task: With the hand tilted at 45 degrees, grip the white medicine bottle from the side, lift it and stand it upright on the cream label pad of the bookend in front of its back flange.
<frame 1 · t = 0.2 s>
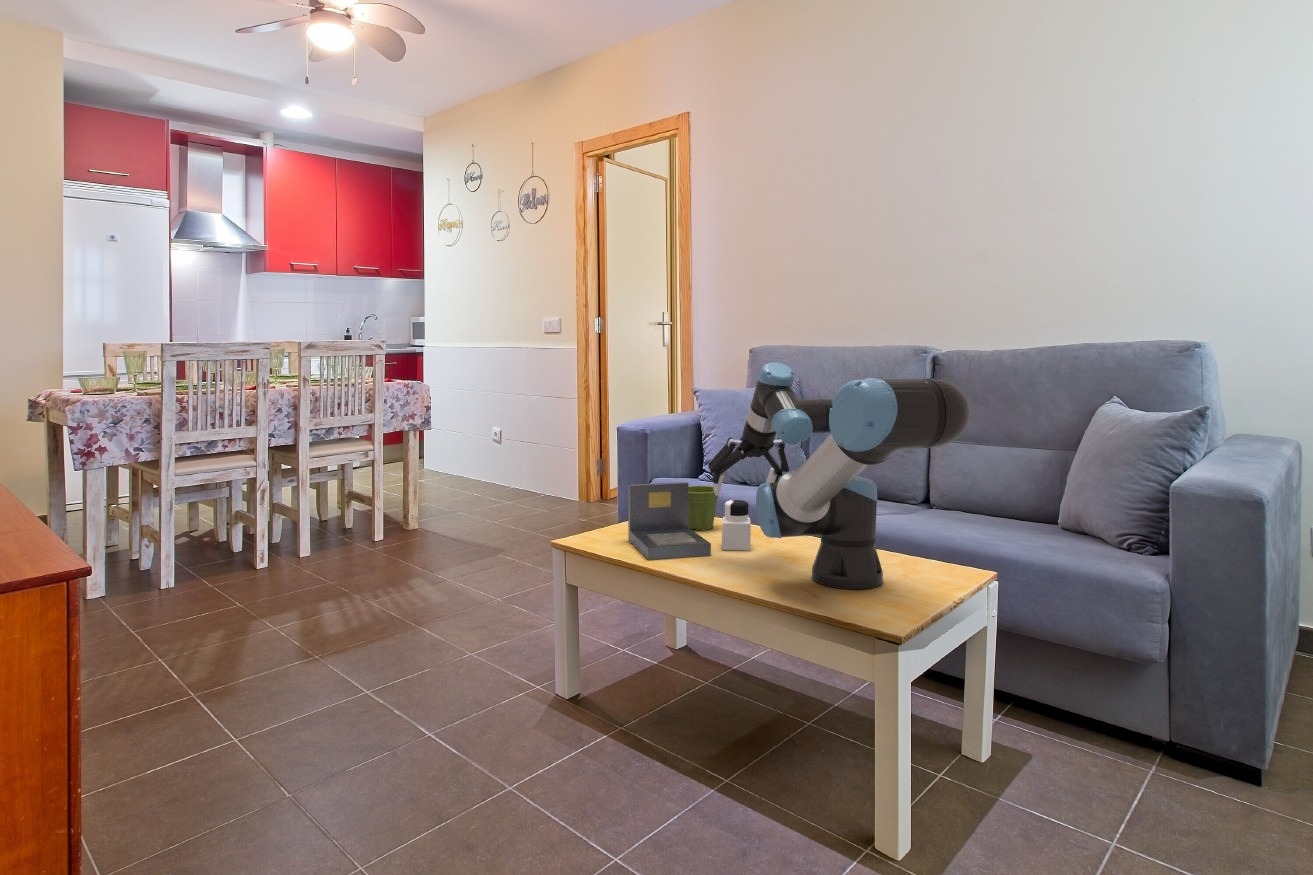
hand: (741, 491, 191), 15 cm above the table, tool tilted 35°, fingers open, 13 cm apart
medicine bottle: (736, 547, 197), on the table
bookend: (668, 547, 196), on the table
plant pot: (699, 528, 218), on the table
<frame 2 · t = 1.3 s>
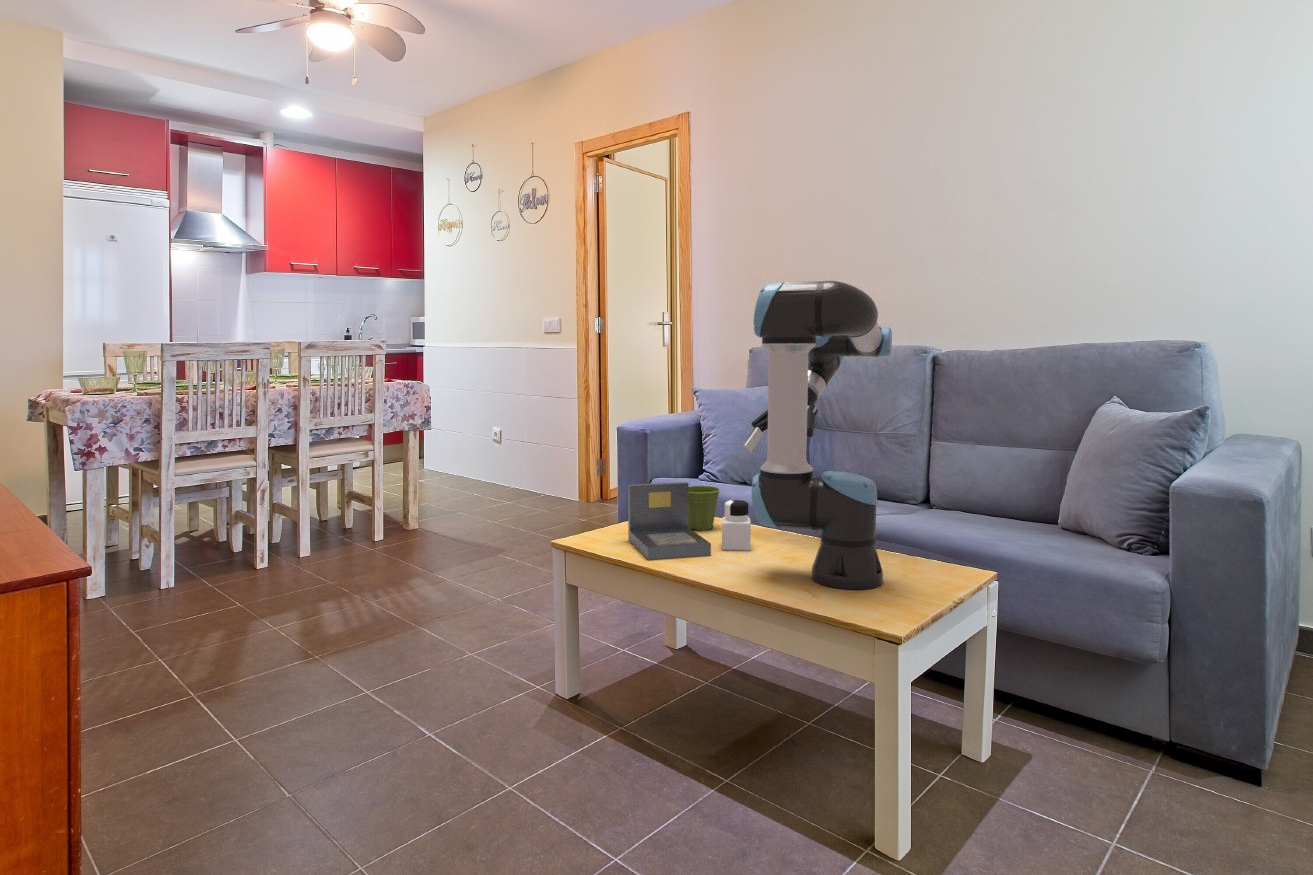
hand: (765, 451, 200), 24 cm above the table, tool tilted 45°, fingers open, 13 cm apart
nothing on the table moved.
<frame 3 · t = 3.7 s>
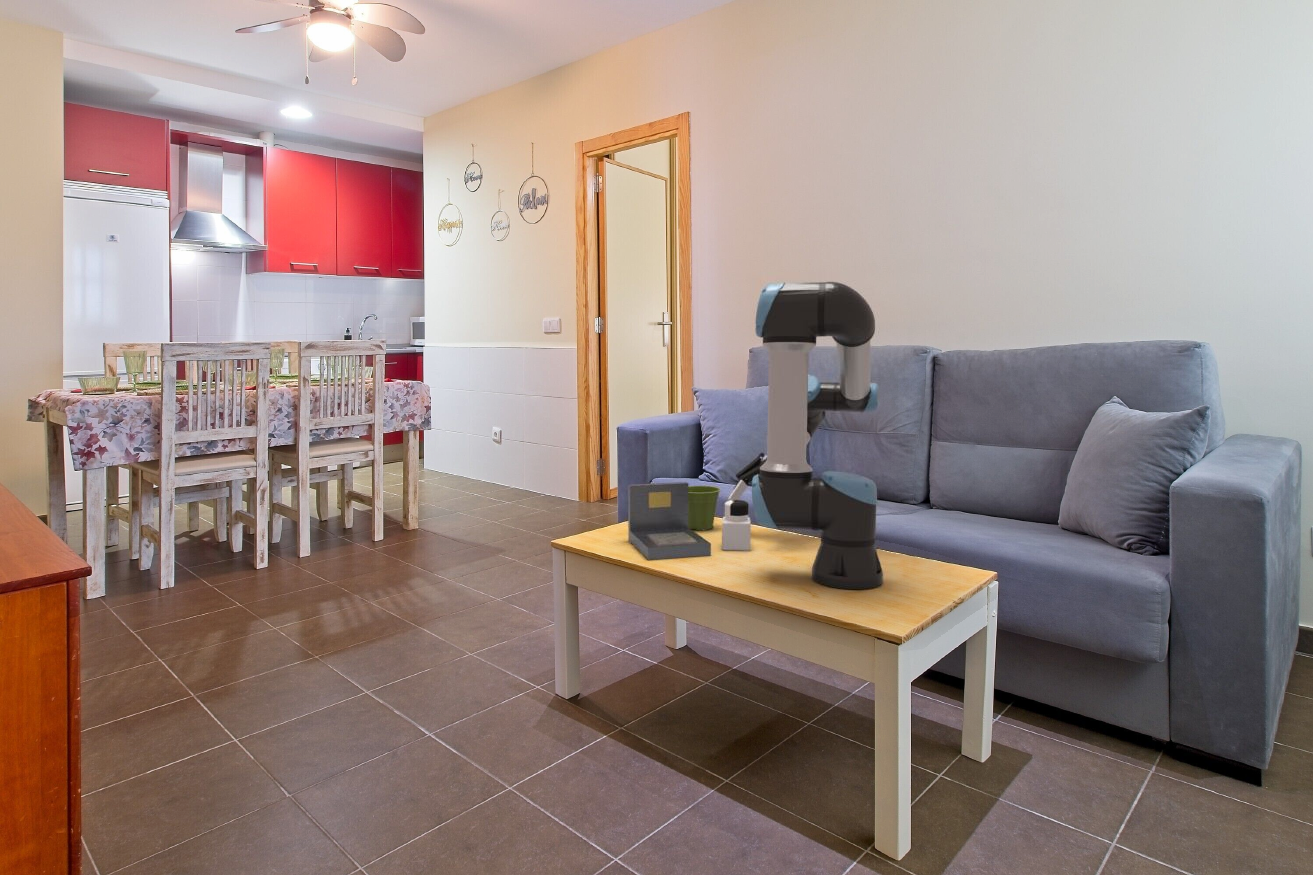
hand: (749, 506, 200), 10 cm above the table, tool tilted 45°, fingers open, 13 cm apart
nothing on the table moved.
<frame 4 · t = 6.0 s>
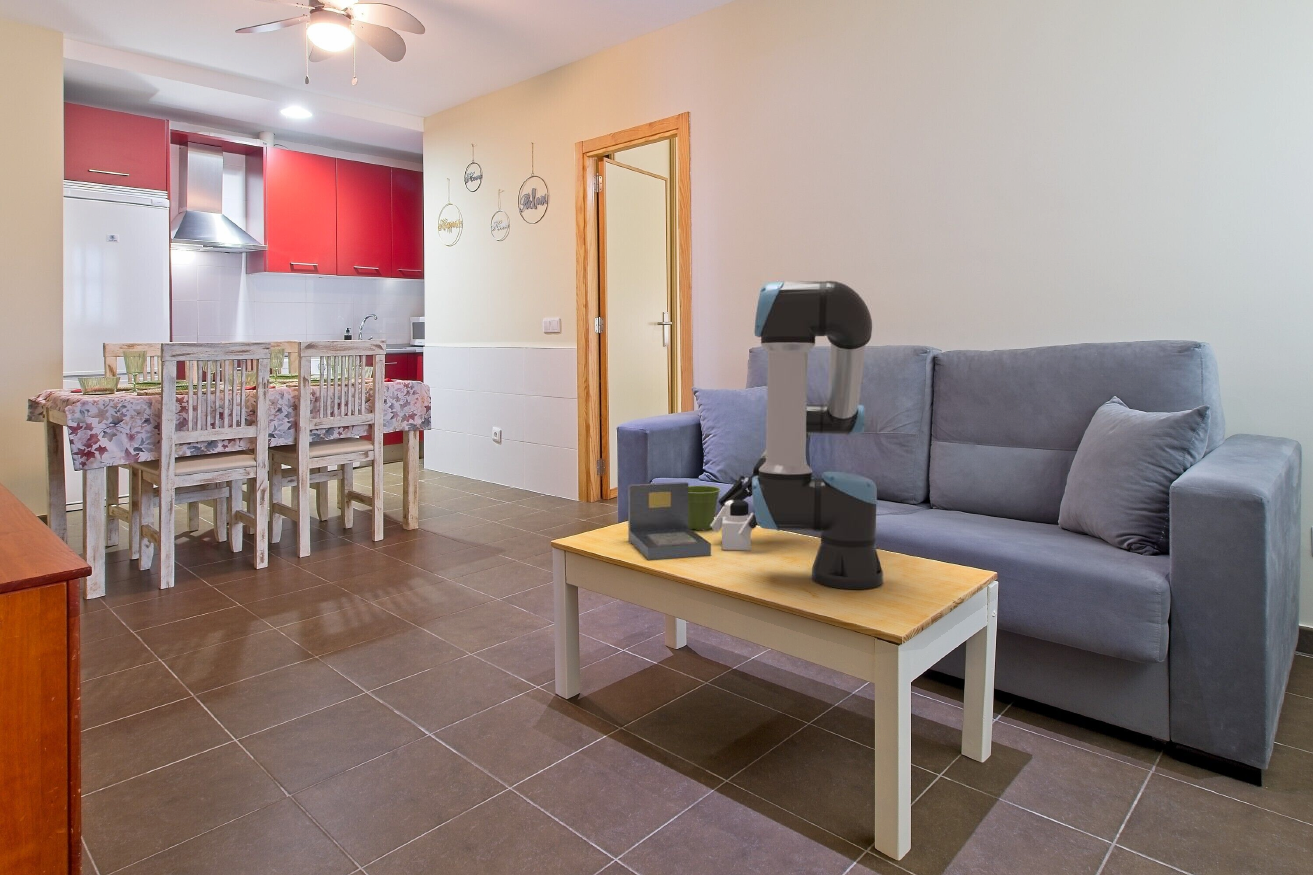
hand: (727, 532, 195), 4 cm above the table, tool tilted 45°, fingers closed on medicine bottle, 10 cm apart
medicine bottle: (736, 547, 197), on the table, touching gripper
everything else where it was.
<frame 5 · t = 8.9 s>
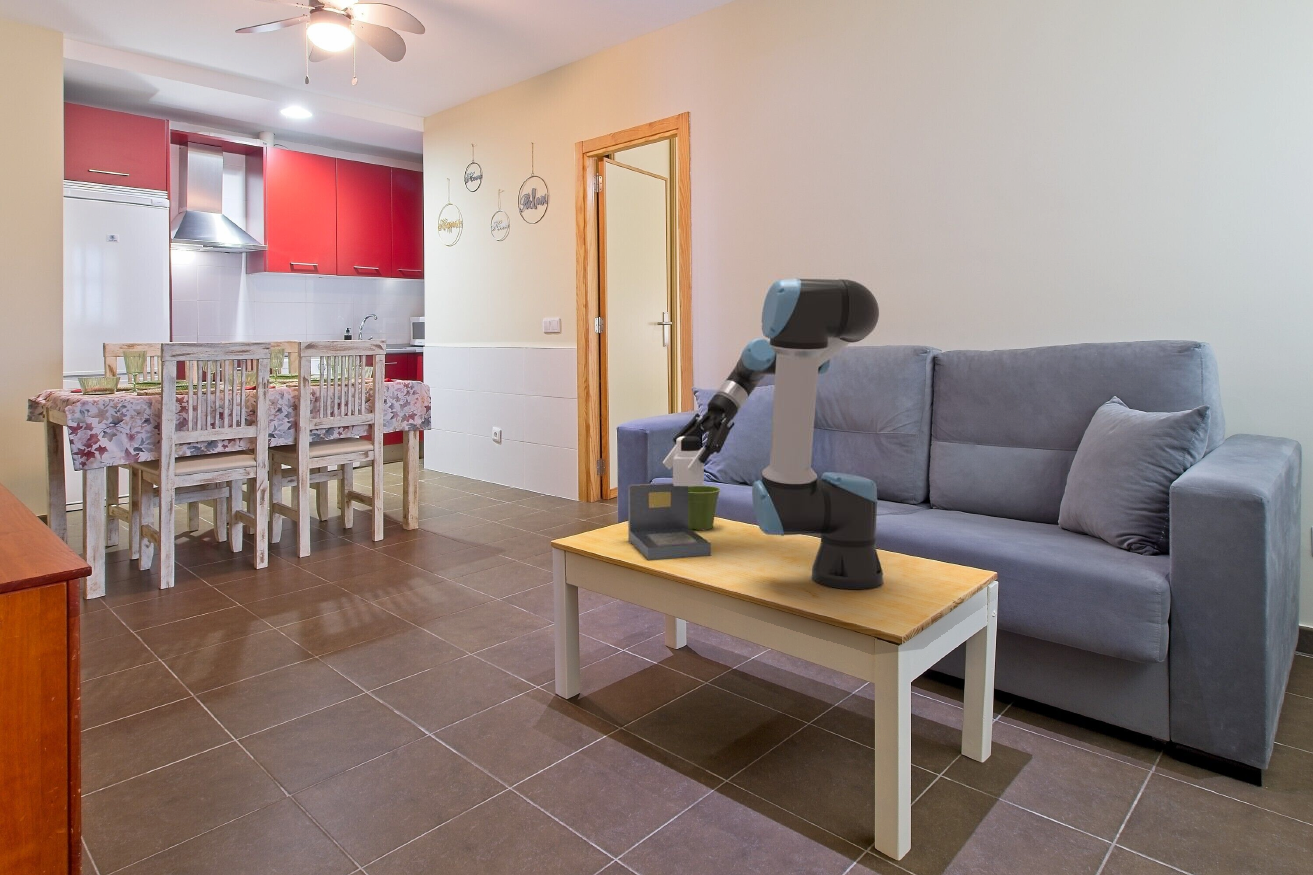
hand: (678, 468, 192), 21 cm above the table, tool tilted 45°, fingers closed on medicine bottle, 10 cm apart
medicine bottle: (688, 484, 194), point 16 cm above the table, touching gripper
everything else where it was.
when the fingers open (9 cm above the table, at t = 12.0 s): medicine bottle drops 2 cm, resting on bookend.
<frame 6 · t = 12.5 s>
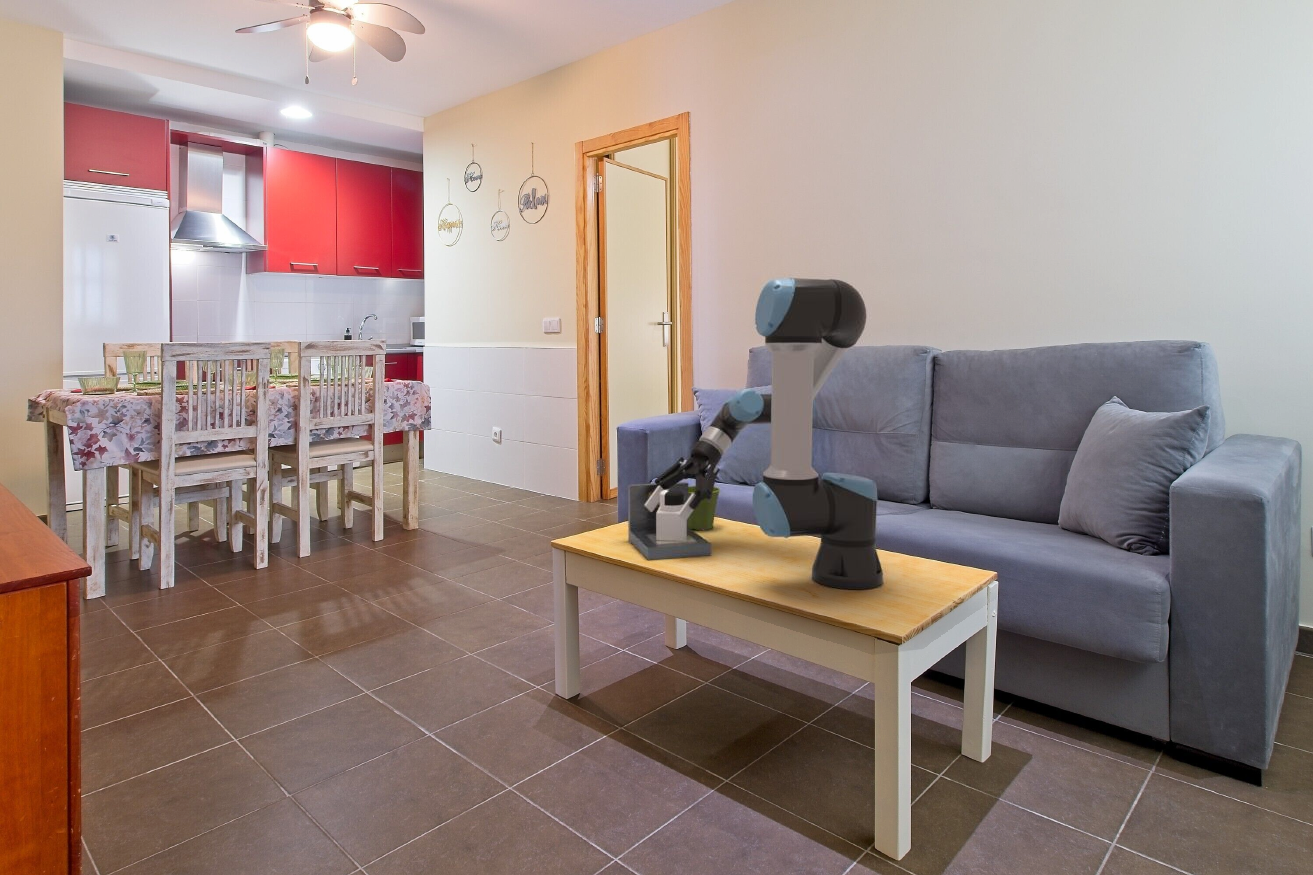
hand: (664, 513, 191), 10 cm above the table, tool tilted 45°, fingers open, 13 cm apart
medicine bottle: (671, 538, 193), point 3 cm above the table, touching bookend
everything else where it was.
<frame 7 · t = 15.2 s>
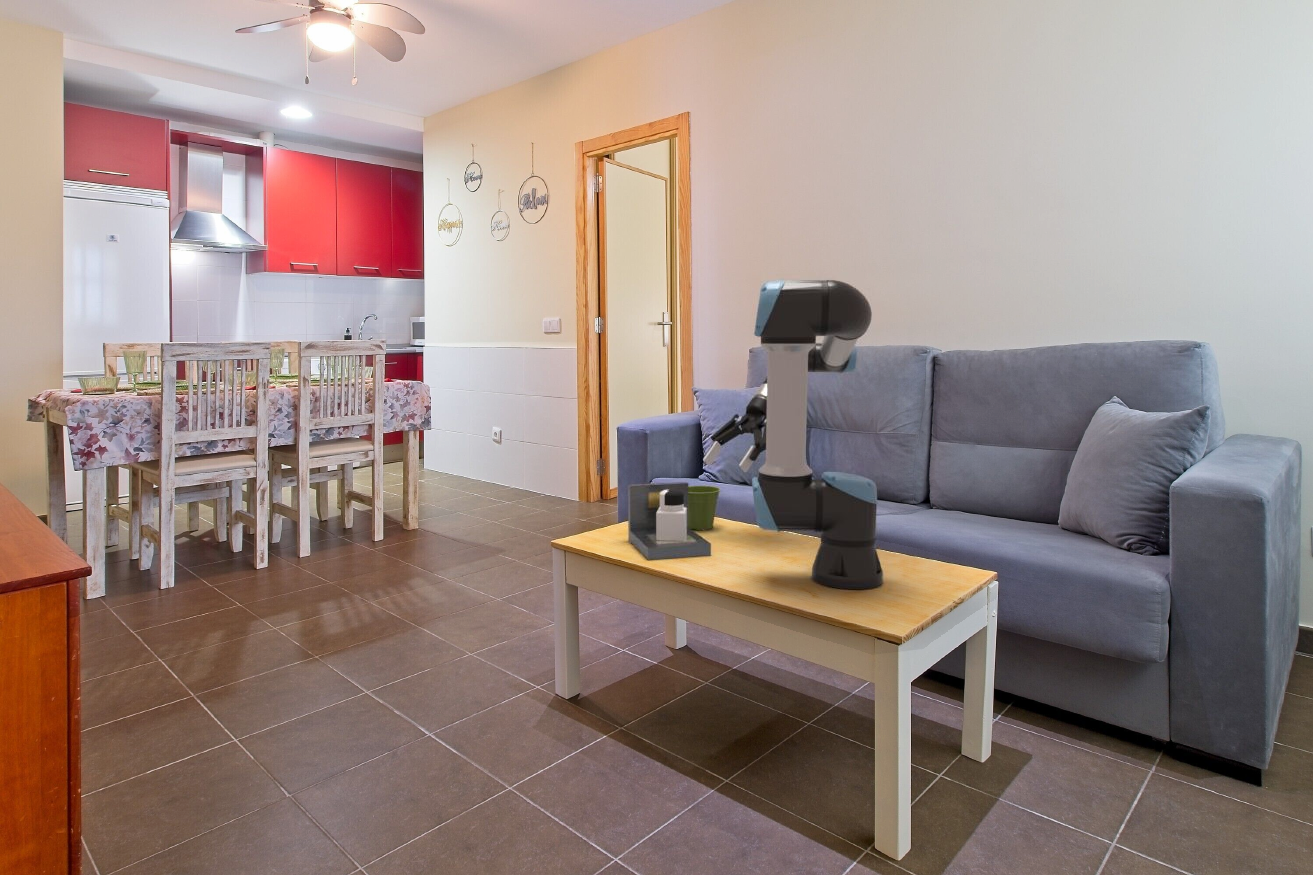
hand: (723, 466, 199), 20 cm above the table, tool tilted 45°, fingers open, 13 cm apart
nothing on the table moved.
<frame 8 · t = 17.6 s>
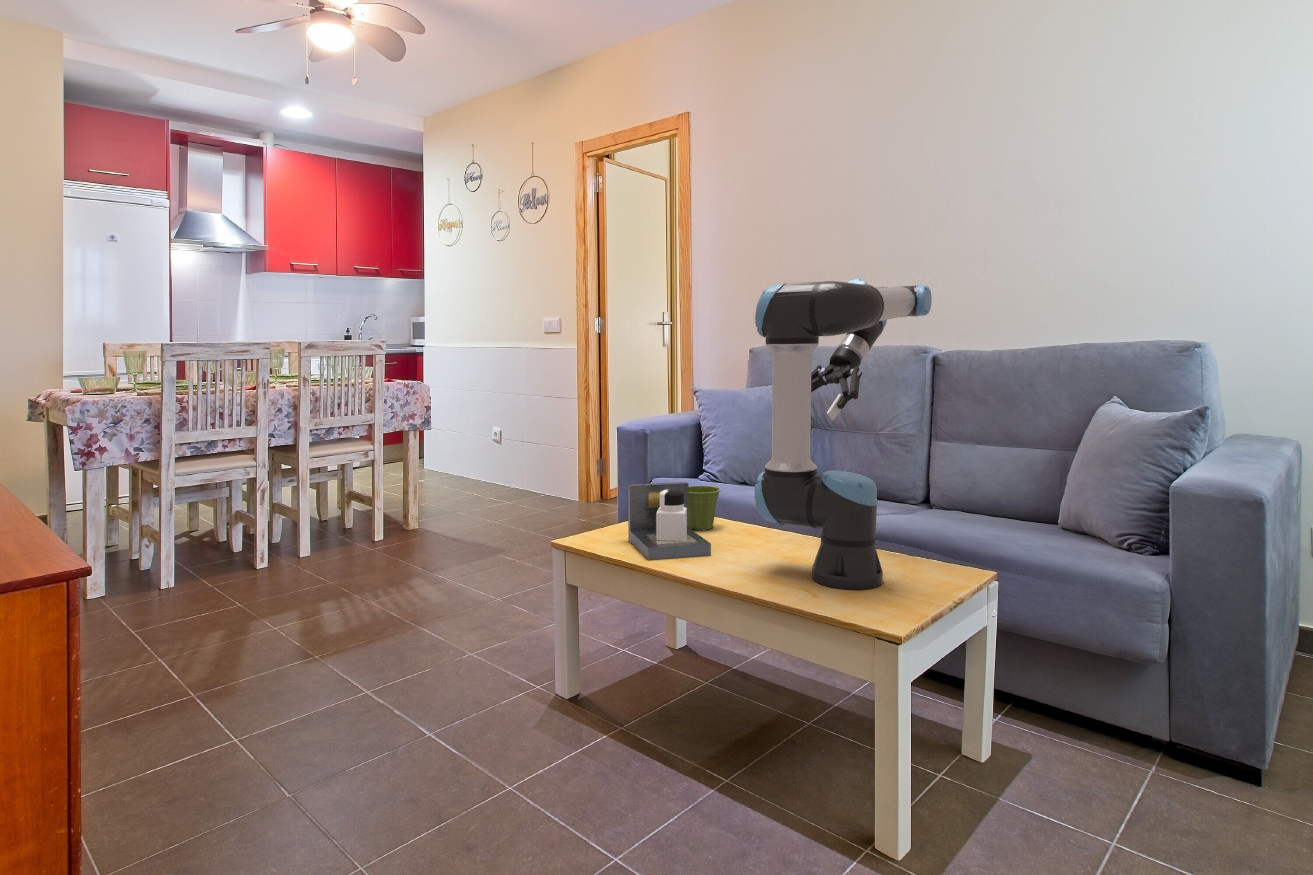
hand: (809, 415, 196), 34 cm above the table, tool tilted 45°, fingers open, 13 cm apart
nothing on the table moved.
at the end: medicine bottle inside the target area on the bookend (0.4 cm from its centre), point 3.1 cm above the bookend's base; medicine bottle tilted 0°; the gripper is holding nothing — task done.
